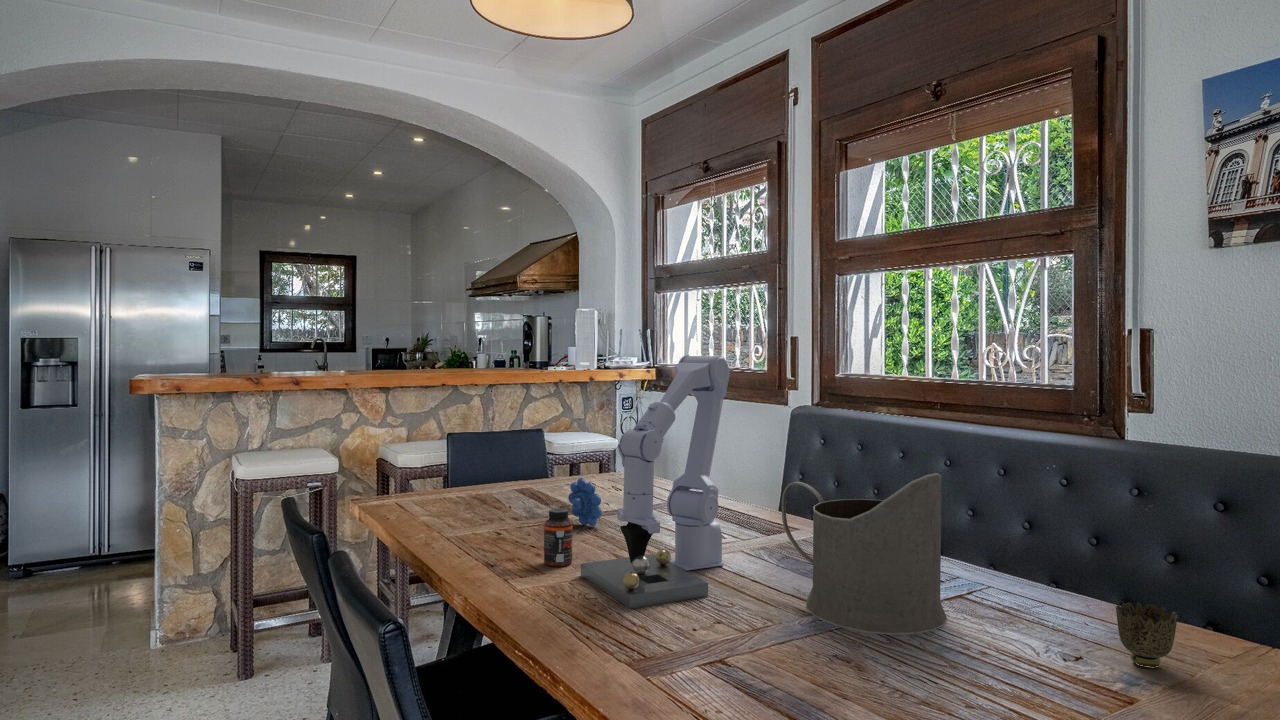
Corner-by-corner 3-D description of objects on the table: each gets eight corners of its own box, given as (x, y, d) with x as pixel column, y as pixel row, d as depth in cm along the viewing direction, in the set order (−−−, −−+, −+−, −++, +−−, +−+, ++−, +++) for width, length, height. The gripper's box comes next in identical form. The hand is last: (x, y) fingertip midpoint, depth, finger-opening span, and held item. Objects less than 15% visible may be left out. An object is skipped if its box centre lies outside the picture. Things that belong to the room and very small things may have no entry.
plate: (651, 565, 159) (651, 554, 159) (708, 595, 139) (708, 582, 139) (580, 575, 152) (580, 563, 152) (629, 608, 132) (629, 595, 132)
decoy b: (634, 585, 137) (634, 568, 137) (642, 590, 135) (642, 573, 135) (619, 587, 136) (619, 571, 136) (627, 592, 133) (627, 575, 133)
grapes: (557, 524, 196) (557, 478, 196) (576, 520, 201) (576, 475, 201) (588, 531, 189) (588, 483, 188) (607, 527, 193) (607, 480, 193)
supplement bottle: (567, 568, 157) (567, 513, 156) (539, 566, 158) (540, 512, 158) (575, 560, 162) (576, 507, 162) (549, 559, 164) (549, 506, 163)
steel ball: (650, 552, 145) (653, 569, 143) (645, 559, 148) (648, 576, 146) (634, 552, 144) (636, 570, 142) (628, 559, 147) (631, 576, 145)
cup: (1103, 655, 113) (1103, 601, 113) (1149, 653, 113) (1150, 600, 113) (1140, 676, 105) (1141, 619, 105) (1190, 675, 106) (1190, 617, 106)
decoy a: (666, 562, 153) (666, 547, 153) (673, 565, 150) (673, 550, 150) (652, 563, 152) (653, 548, 152) (660, 567, 149) (660, 552, 149)
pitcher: (900, 646, 116) (901, 482, 116) (742, 595, 140) (743, 459, 140) (971, 612, 131) (972, 468, 131) (818, 572, 155) (819, 449, 155)
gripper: (604, 487, 151) (602, 556, 151) (636, 500, 138) (634, 575, 138) (635, 485, 154) (634, 552, 154) (670, 498, 141) (668, 571, 141)
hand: (636, 563), depth 146 cm, fingers closed, pressing on steel ball
